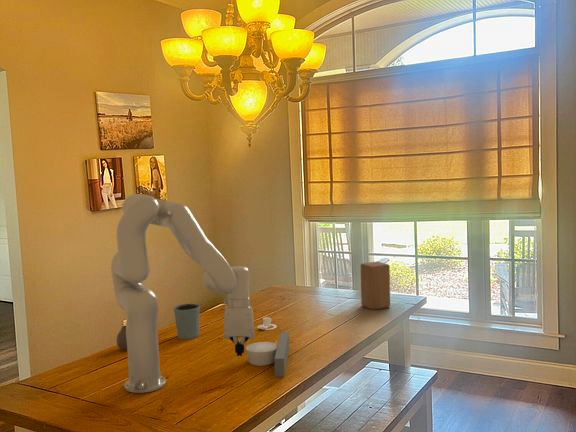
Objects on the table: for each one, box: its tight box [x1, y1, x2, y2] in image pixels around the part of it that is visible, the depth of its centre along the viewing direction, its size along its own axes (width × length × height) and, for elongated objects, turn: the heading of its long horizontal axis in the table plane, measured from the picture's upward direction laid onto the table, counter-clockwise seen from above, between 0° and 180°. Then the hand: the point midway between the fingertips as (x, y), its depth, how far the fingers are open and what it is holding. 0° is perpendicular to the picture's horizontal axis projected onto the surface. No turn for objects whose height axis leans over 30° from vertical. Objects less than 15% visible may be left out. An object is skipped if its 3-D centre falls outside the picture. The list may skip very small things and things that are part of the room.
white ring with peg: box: [257, 316, 278, 331], centre depth 239 cm, size 9×8×4 cm
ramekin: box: [244, 341, 278, 367], centre depth 199 cm, size 11×11×5 cm
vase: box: [116, 325, 127, 351], centre depth 217 cm, size 7×7×9 cm
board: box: [274, 331, 290, 378], centre depth 198 cm, size 28×3×6 cm, turn 176°
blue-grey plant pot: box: [173, 303, 201, 340], centre depth 230 cm, size 10×10×12 cm
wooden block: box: [360, 261, 391, 311], centre depth 264 cm, size 10×10×20 cm
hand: (239, 354), depth 199 cm, fingers closed
